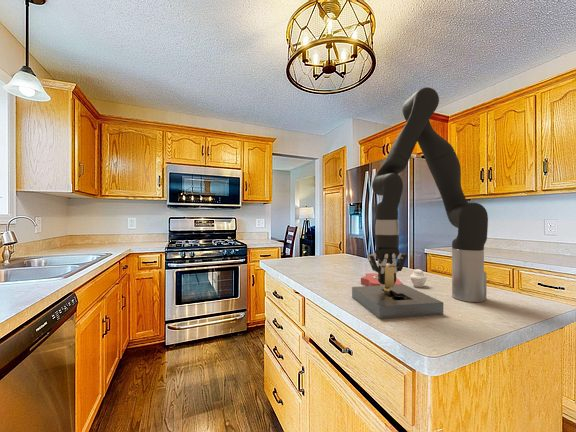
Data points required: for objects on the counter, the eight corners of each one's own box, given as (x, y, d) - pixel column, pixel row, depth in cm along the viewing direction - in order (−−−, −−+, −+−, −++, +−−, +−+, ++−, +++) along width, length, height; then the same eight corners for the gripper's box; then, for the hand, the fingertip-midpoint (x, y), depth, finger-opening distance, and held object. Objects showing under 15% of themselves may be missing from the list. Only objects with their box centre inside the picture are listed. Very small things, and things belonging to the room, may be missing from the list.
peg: (390, 297, 93) (390, 264, 93) (398, 302, 88) (397, 267, 88) (376, 298, 93) (376, 265, 92) (384, 303, 88) (383, 268, 88)
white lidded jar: (420, 283, 112) (420, 267, 112) (430, 287, 106) (430, 270, 106) (406, 284, 111) (406, 267, 111) (415, 288, 105) (415, 270, 105)
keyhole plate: (403, 294, 98) (403, 284, 98) (443, 314, 78) (443, 302, 78) (352, 297, 95) (352, 286, 95) (379, 319, 75) (379, 306, 75)
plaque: (358, 271, 121) (393, 272, 118) (358, 280, 121) (393, 281, 118) (363, 281, 103) (404, 283, 101) (363, 291, 103) (404, 293, 101)
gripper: (399, 232, 95) (400, 280, 95) (362, 232, 93) (362, 282, 93) (412, 233, 88) (412, 285, 88) (372, 234, 85) (372, 287, 86)
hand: (387, 283), depth 90 cm, fingers closed on peg, 3 cm apart
